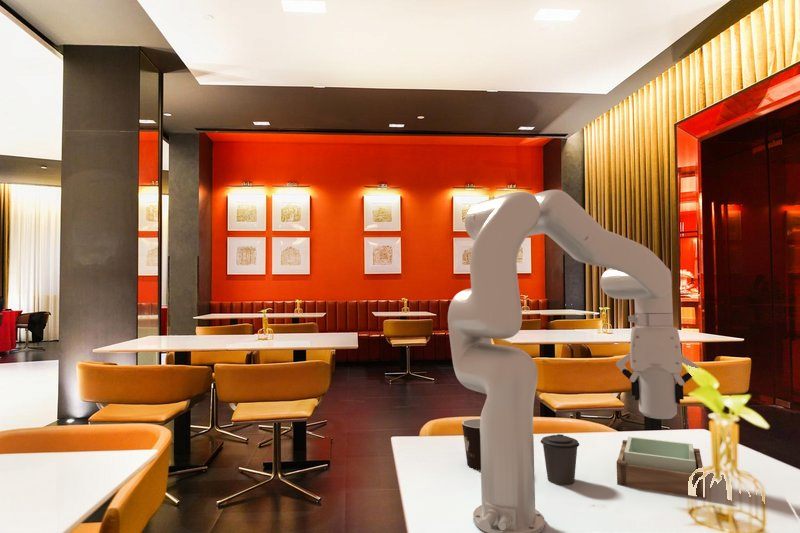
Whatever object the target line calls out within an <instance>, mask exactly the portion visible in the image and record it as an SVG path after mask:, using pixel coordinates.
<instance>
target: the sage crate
mask: <svg viewBox="0 0 800 533" xmlns="http://www.w3.org/2000/svg"><path fill="white" fill-rule="evenodd" d="M693 448H694V446H693V443H688V442H679V441H677V442H676V441H671V440H670V441H669V440H661V439H652V438H644V437H635V436H627V444H626V448H625V451H624V458H625V461H626V464H628V465H635V466H642V467H650V468H657V469H664V470H671V471H678V472H685V473H693V472H694V470H696V461H695V455H694V449H693Z"/></svg>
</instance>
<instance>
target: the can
mask: <svg viewBox="0 0 800 533" xmlns="http://www.w3.org/2000/svg"><path fill="white" fill-rule="evenodd" d="M650 365H651V367H648V368H646V369H644V370H643V372H639V376H638V377H637V380H638V390H639V400H638V411H639V412H640V413H641V414H642V415H643V416H644V417H646V418H650V419H655V420H669V419H670V420H671V419H674V417H676V415H678V403H676V384H677V382H676V379H675V378H674V374H670V373H669V371H667V370H665V369H664V368H662V367H660V365H662V364H650Z"/></svg>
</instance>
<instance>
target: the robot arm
mask: <svg viewBox="0 0 800 533" xmlns="http://www.w3.org/2000/svg"><path fill="white" fill-rule="evenodd" d="M464 228H465V230H466V233H467V235H469V237H470V238H471V239H472V240H473V241H474V242H473V244H472V247H471V251H470V256H469V271H470V272H469V273H470V274H469V276H470V288H466V289H463V290H461V291H459V292H458V293H456V294H455V295H454V296H453V298H452V300H451V302H450V304H449V306H448V312H447V324H448V325H447V328H448V336H449V343H450V352H451V359H452V365H453V366H452V367H453V370H454V373H455V376H456V379H457V380H458V381H459V383H460V384H461V385H462V386H463V387H465V388H466V389H468V390H471V391H474V392H478V393H481V394H485V395H486V399H485V402H484V405H483V407H482V410H481V413H480V418H479V419H480V442H481V470H480V482H481V483H480V485H481V487H480V489H481V490H480V491H481V505H479V506H477V507H476V508H475V509H474V510H473V512H472V515H473V516H472V519H473V522H474V525H475V526H476V527H477V528H478V529H480V530H481V531H482V532H485V533H541V532H543V531H544V529H545V527H546V526H545V516H544V515H543V514H542V512H540V511H539V510H537V509H536V487H535V486H536V484H535V483H536V482H535V447H534V442H535V441H534V404H535V396H536V390H537V387H538V386H537V385H538V378H539V377H538V376H539V374H538V367H537V364H536V362H535V360H534V359H533V357H532V356H531V355H530V354H528V353H527V351H525V350H523V349H521V348H518V347H515V346H512V345H511V346H510V345H505V344H504V345H503V344H498V343H497V344H496V343H495V344H493V343H492V339H493V340H494V339H495V340H506V339H510V338H513V337H515V336H516V335H517V334H518V333H519V332H520V330H521V327H522V323H523V312H522V304H521V303H522V302H521V295H520V288H519V279H518V269H517V268H518V265H517V264H518V263H517V262H518V261H517V259H518V254H519V252H520V249H521V246H522V245H523V243H524V241H525V240H526V239H527V237H530V236H536V235H542V234H543V235H547V236H548V237H549V238H550V239H551V240H553V241H554V243H556V244H557V245H558V246H559V247H560V248H562V249H563V251H565V252H566V253H567V254H569V256H570V257H571V258H572V259H573V260H575V261H577V262H579V263H583V264H587V265H590V266H596V267H601V268H606V270H605V271H604V272H603V273H602V275H601V277H600V282H599V284H600V288H601V289H602V292H603V293H604V294H605V295H607V296H608V297H609V298H612V299H617V300H634V314H632V315H628V322H629V323H630V322H632V323H634V324H635V326H632V327H631V332H630V344H629V347H630V348H629V353H627V354H626V355H624V356H623V357H622V358H620V359H618V360H617V361H616V362H615V365H616V367H617V368H618V369H619V370H620V371H621V373H622V374H623V375H624V376H625V377H626V378H627V379H628V380H629V381H630V384H631V385H630V386H631V396H632V397H634V400H635V401H639V390H638V376H639V372H643V370H644V369H646V368H648V367H651V365H650V364H662V365H660V367H662V368H664V369H665V370H667V371H669V373H670V374H674V378H675V379H676V403H677V405H680V404H681V400H682V401H684V396H685V395H684V385H685V384H686V383H687V382H688V381H690V380H691V379H692V377H693V376H691V375H690V374H689V373H688V372H685V373H684V374H683V375H681V372H682V370H683V364H684V365H685V366H687V367H688V365H689V366H691V367H695V368H699V369H700V367H699V366H698V365H697V364H696V363H695V362H693V361H692V360H690V359H689V358H687V357H686V356H684V355H683V354H682V347H681V346H682V345H681V339H680V334H679V331H678V328H677V327H676V326H675V327H674V313H673V312H674V311H673V295H672V294H673V290H672V289H673V288H672V283H673V282H672V272H671V270H670V268H669V267H667V266H666V264H665V263H664V262H663V261H662V260H661V258H659V257H658V256H657V255H656V253H654V252H653V251H652V250H650V249H649V248H648V247H646V246H645V245H643V244H642V243H639V242H637V241H635V240H632V239H629V238H627V237H625V236H623V235H620V234H618V233H615V232H612V231H609V230H607V229H606V228H604V227H603V226H602V225H601V224H600V223H598V222H597V221H596V220H595V219H594V218H593V217H592V216H591V215H590V214H589V213H588V212H587V211H586V210H585V209H584V208H583V207H582V206H581V205H580V204H579V203H578V202H577V201H576V200H575V199H574V198H573V197H572V196H571V195H569V194H568V193H567V192H565V191H563V190H561V189H549V190H544V191H540V192H536V193H530V192H525V191H516V192H515V191H514V192H510V193H506V194H503V195H499V196H497V197H494V198H490V199H487V200H484V201H480V202H477V203H475V204H474V205H472V206H471V207H470V208H469V210H468V211H467V213H466V214H465V217H464ZM628 362H629V364H630V368H631V370H632V372H631V371H630V370H629V369H628V368H627V367H626V365H625V364H626V363H628Z"/></svg>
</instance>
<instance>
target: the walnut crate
mask: <svg viewBox="0 0 800 533" xmlns="http://www.w3.org/2000/svg"><path fill="white" fill-rule="evenodd" d="M627 440H628V439H627ZM627 440H626V439H623V440H622V442H621V443H622V444H621V448H620V451H619V454H618V458H617V460H616V485H619V486H624V487H631V488H637V489H642V490H649V491H655V492H660V493H661V492H662V493H668V494H673V495H681V496H686V497H687V496H688V481H689V477H690V476H691V475H692V473H685V472H678V471H671V470H664V469H657V468H650V467H642V466H635V465H628V464H626V461H625V458H624V451H625V448H626V444H627ZM693 449H694V455H695V461H696V469H698V468H702V467H703V468H704V466H703V465H704V464H703V460H702V455H701V450H700V448H694V447H693ZM694 471H695V470H694ZM702 475H703V472H697V473H695V475H694V476H693V480H692V484H693V487H694V485H695V483H696V481H697V480H698V478H699V477H701V476H702ZM706 488H707V487H706V486H705V490H707V489H706ZM705 492H706V491H705ZM706 493H707V492H706ZM696 495H697V497H696V498H700V499H704V498H703V479H701V480H699V482H698V484H697V488H696ZM688 497H689V496H688Z"/></svg>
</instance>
